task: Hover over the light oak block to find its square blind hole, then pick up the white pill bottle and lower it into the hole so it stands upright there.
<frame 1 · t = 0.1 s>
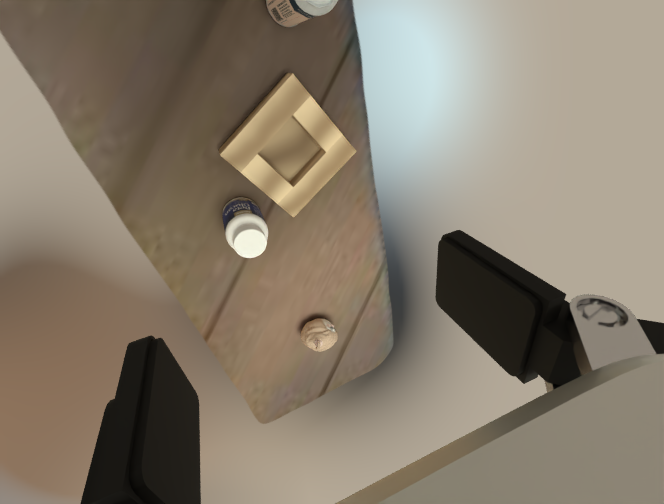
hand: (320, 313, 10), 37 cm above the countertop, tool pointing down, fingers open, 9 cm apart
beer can: (285, 2, 36), on the countertop
socket block: (287, 148, 44), on the countertop
garlic bulb: (314, 324, 63), on the countertop
pill bottle: (241, 213, 47), on the countertop
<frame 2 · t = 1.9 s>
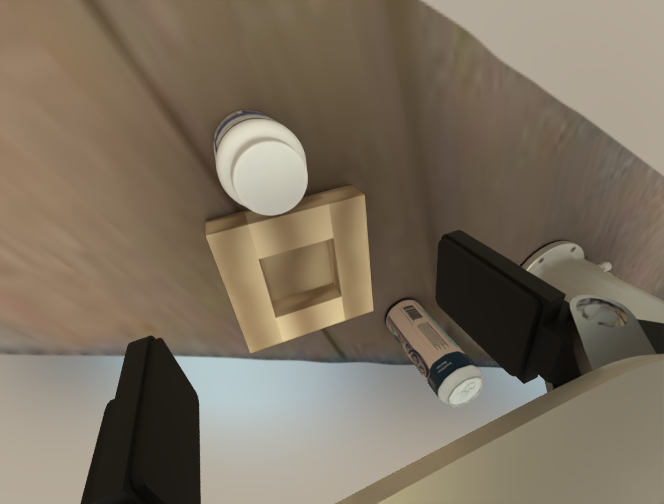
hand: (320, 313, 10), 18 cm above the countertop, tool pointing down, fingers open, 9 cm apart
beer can: (400, 312, 40), on the countertop
socket block: (295, 263, 31), on the countertop
pill bottle: (249, 146, 25), on the countertop
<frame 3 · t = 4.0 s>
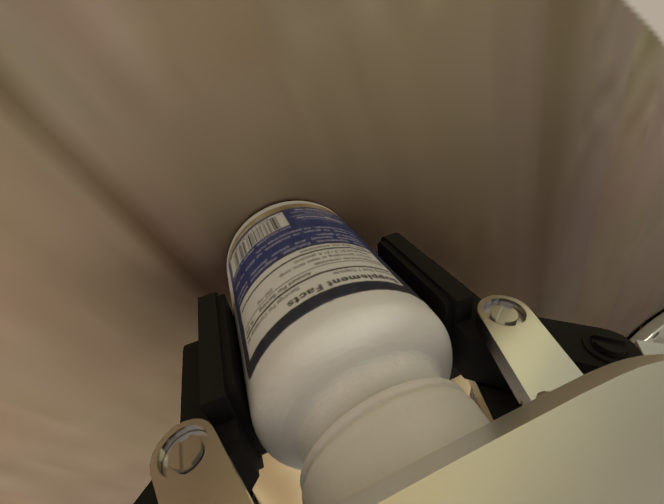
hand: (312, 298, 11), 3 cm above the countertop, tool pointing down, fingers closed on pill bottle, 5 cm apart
socket block: (351, 398, 20), on the countertop
pill bottle: (290, 254, 14), on the countertop, touching gripper
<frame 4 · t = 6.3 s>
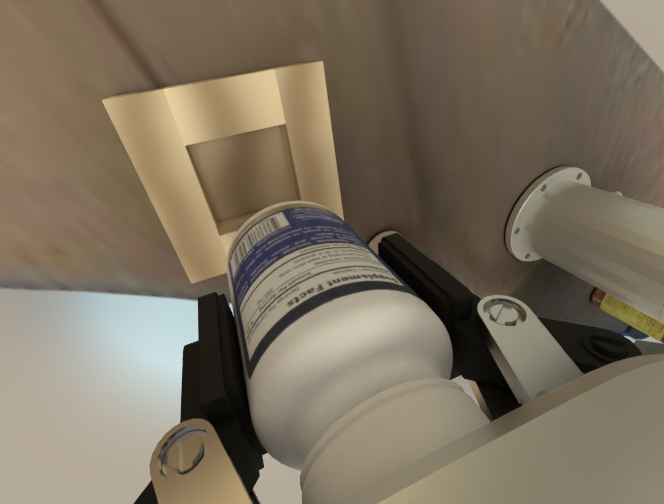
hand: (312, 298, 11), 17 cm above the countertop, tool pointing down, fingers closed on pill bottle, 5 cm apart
sauce bottle: (602, 287, 57), on the countertop
socket block: (245, 171, 25), on the countertop
pill bottle: (290, 254, 14), point 14 cm above the countertop, touching gripper
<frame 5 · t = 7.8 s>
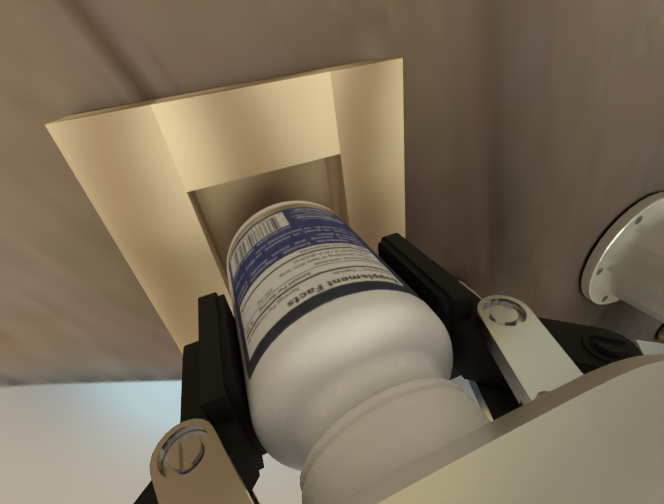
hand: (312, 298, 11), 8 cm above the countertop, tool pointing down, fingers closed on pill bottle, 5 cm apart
socket block: (272, 215, 17), on the countertop
pill bottle: (290, 254, 14), point 5 cm above the countertop, touching gripper
when the fingers open (5 cm above the countertop, at t = 8.9 s): pill bottle stays where it is, resting on socket block.
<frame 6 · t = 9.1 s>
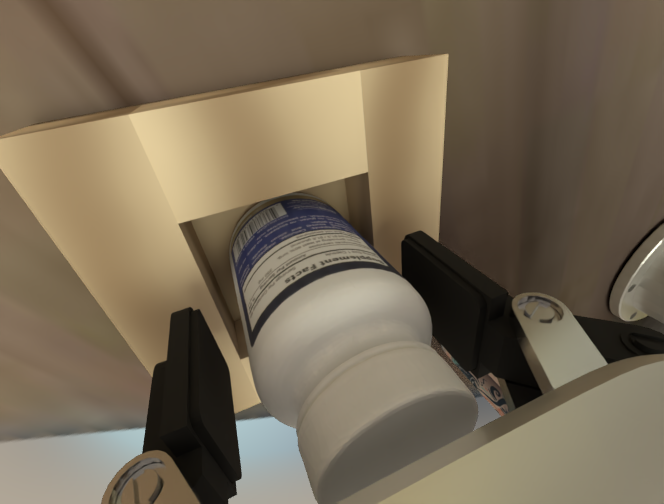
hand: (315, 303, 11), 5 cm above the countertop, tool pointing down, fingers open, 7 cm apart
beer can: (461, 323, 24), on the countertop
socket block: (281, 240, 15), on the countertop
pill bottle: (288, 243, 15), resting on socket block
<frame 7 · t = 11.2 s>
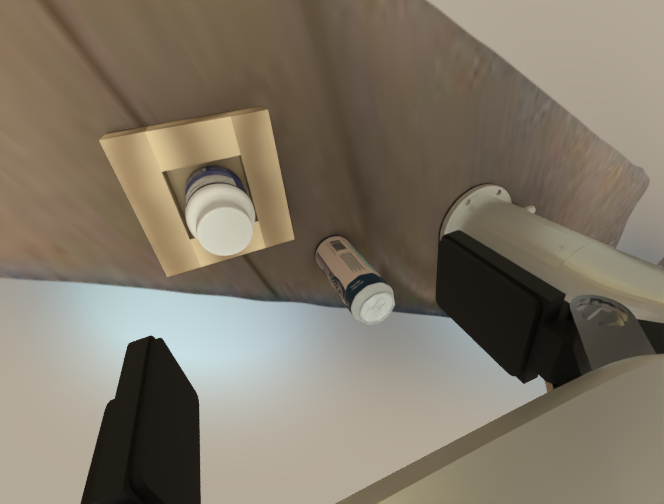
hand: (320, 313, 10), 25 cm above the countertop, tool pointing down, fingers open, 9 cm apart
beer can: (331, 250, 41), on the countertop
socket block: (212, 188, 31), on the countertop
pill bottle: (214, 189, 31), resting on socket block
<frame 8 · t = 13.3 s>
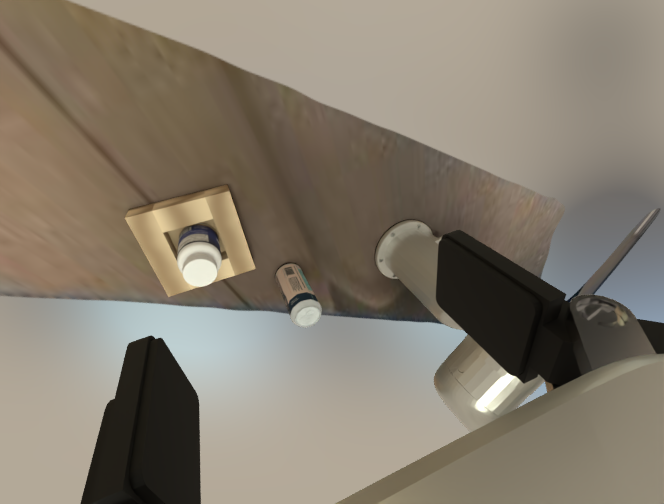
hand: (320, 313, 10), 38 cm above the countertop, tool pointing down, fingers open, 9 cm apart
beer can: (288, 273, 56), on the countertop
socket block: (197, 237, 47), on the countertop
pill bottle: (199, 238, 47), resting on socket block
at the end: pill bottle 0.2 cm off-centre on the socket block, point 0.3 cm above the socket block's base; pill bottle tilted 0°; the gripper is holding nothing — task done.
